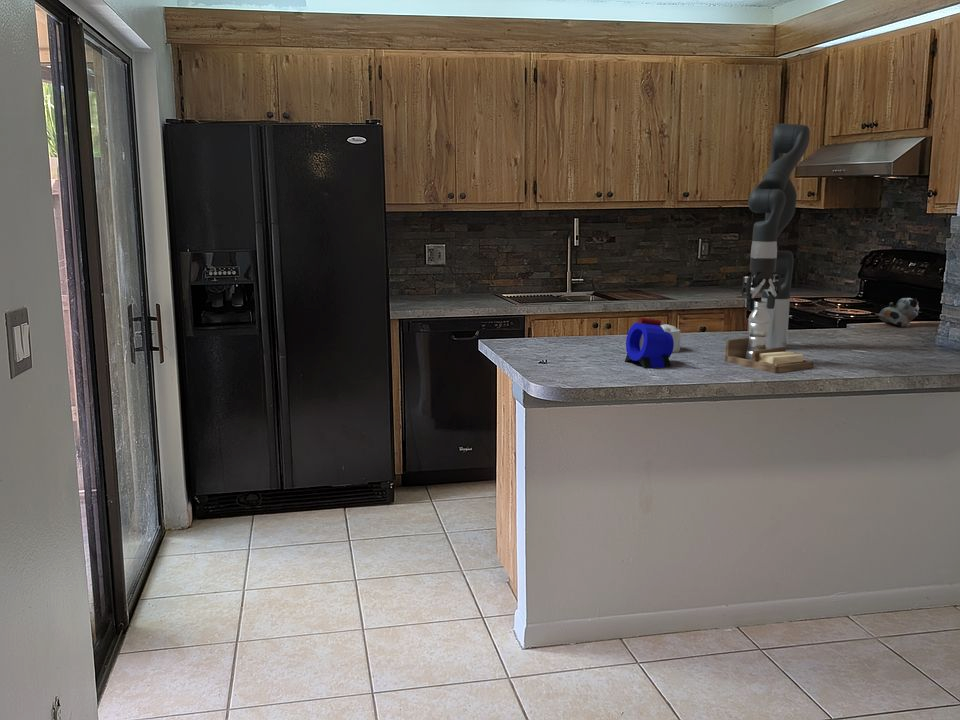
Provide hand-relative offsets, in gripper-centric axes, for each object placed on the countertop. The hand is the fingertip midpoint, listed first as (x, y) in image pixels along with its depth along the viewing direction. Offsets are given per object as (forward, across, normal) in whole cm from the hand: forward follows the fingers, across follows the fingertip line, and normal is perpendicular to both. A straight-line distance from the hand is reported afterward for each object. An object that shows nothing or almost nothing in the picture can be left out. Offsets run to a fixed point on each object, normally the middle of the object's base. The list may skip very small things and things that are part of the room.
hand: (760, 309), depth 269 cm
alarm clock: (+18, +27, -19) cm, 37 cm away
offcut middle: (+16, 0, +9) cm, 19 cm away
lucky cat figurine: (+17, -112, -31) cm, 117 cm away
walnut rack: (+18, 0, +4) cm, 18 cm away
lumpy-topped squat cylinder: (+18, +9, -36) cm, 41 cm away
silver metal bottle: (+18, 0, 0) cm, 18 cm away
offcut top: (+14, 0, +9) cm, 17 cm away
